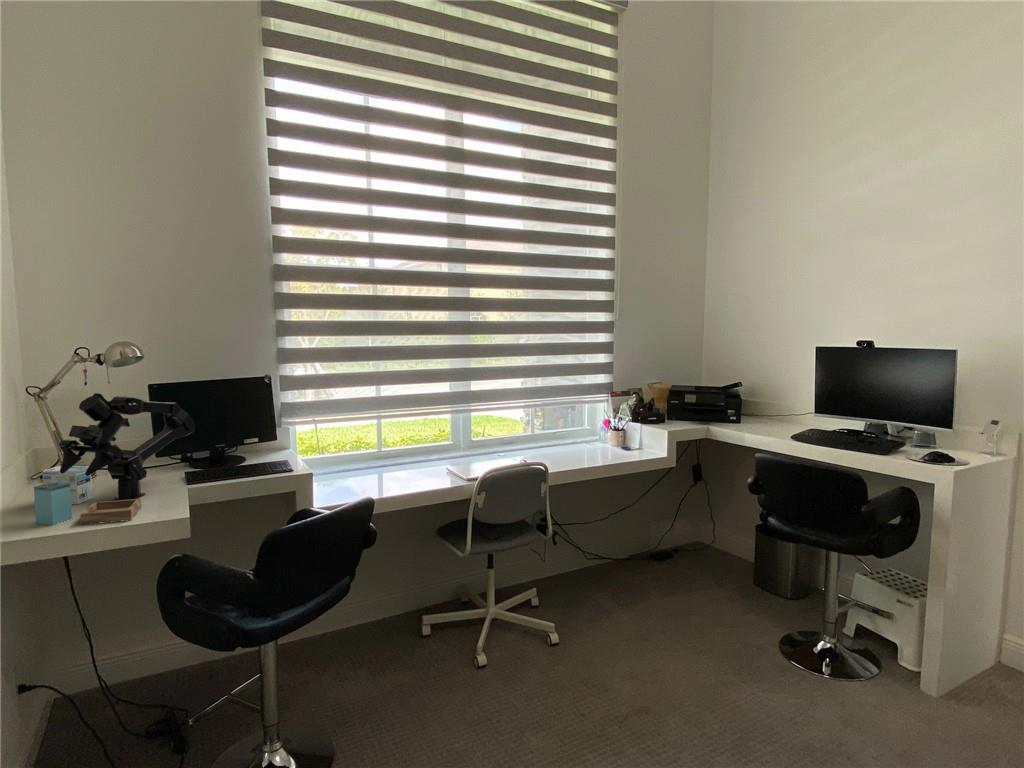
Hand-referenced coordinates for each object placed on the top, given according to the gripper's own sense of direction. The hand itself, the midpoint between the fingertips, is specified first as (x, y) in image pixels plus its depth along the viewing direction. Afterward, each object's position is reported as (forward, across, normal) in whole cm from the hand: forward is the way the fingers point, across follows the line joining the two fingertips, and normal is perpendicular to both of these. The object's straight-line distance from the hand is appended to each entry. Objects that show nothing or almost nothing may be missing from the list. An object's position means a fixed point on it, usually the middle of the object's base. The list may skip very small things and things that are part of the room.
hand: (73, 473), depth 171 cm
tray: (+7, +11, +10) cm, 17 cm away
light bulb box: (+2, -14, +16) cm, 21 cm away
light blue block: (+13, 0, +4) cm, 14 cm away
